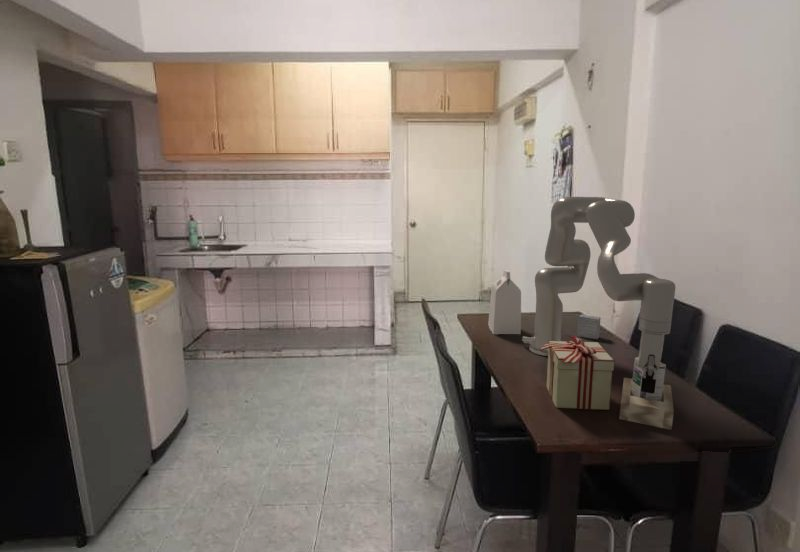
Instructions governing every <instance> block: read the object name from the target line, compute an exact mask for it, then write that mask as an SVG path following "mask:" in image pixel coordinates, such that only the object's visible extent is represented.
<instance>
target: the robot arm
mask: <svg viewBox="0 0 800 552" xmlns="http://www.w3.org/2000/svg"><path fill="white" fill-rule="evenodd" d="M635 217H636V216H635V209H634V207H633V206H632V205H631V204H630V202H628V201H627V200H623V199H622V200H621V199H613V198H609V197H603V196H566V197H560V198H559V199H557V200H556V201H554V203H553V205H552V207H551V212H550V230H549V233H548V237H547V242H546V245H545V252H544V261H545V262H546V264H548V265H549V266H551V267H545V268H541V269H539V270H538V271H537V272H536V273H535V275H534V283H535V284H534V285H535V286H534V287H535V295H536V297H535V317H534V332H533V334H534V335H533V336H531V337H529V336H524V335H523V336H522V339H521V341H522V342H523V343H524V344H529V346H528V350H529V351H530V352H531V353H533V354H535V355H538V356H544V357H548V351H547V349H544V350H539V349H541V348H542V347H543V346H544V345H545V344H546V343H548V341H562V340H561V338H562V337H561V336H562V327H563V325H562V324H563V313H564V312H563V311H564V307H563V306H564V305H563V302H562V300H561V298H560V296H559V294H569V293H572V294H573V293H577V292H579V291H580V290H581V289H582V288H583V285H584V282H585V279H586V275H587V271H588V268H589V264H590V261H591V260H590V259H591V255H592V254H591V248H590V246H589V243H588V242H586V241H585V240H584V239H577V238H576V239H575V237H576V233H577V232H576V231H577V228H576V225H575V223H583V224H587V223H588V226H589V228H590V230H591V231H592V234H593V237H594V239H595V240H596V242H597V244H598V247H599V248H600V253H599V256H598V260H597V265H596V269H597V270H596V273H597V276H598V279H599V282H600V284H601V286H602V289H603V290H604V292H605V294H606V295H607V296H608V297H609V298H610V299H611V300H613V301H615V302H631V301H633V302H634V301H640V308H639V309H640V310H639V317H638V326H637V327H638V328H637V329H638V330H639V331H641V336H640V341H639V351H638V357H639V361H638V366H639V367H640V368H641V367H644V375H643V377H642V383H641V391H642V392H647V393H652V394H653V393H654V392H655V384H656V379H655V376H656V370H658V369H659V366H660V362H661V360H662V355H663V350H664V348H663V347H664V342H665V335H669V334H671V327H672V319H673V311H674V304H675V296H676V295H675V294H676V284H675V282H673V280H670V279H665V278H659V277H657V276H655V275H653V274H650V273H645V272H643V273H642V272H641V273H636V272H635V273H620V271H619V268H618V266H617V264H616V262H615V261H616V260H615V256H617V255H618V254H621V253H622V252H624V251H625V250H626V249H628V247H629V246H630V245H631V241H632V240H631V236H630V235H629V232H628V230H627V229H626V228H627V227H630V226H631V225H632V224H633V223H634V221H635ZM648 357H649V360H648ZM646 364H648V366H646ZM654 365H655V366H654ZM656 366H657V367H656ZM646 370H648V371H646Z"/></svg>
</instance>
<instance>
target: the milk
mask: <svg viewBox="0 0 800 552" xmlns="http://www.w3.org/2000/svg"><path fill="white" fill-rule="evenodd" d="M487 325H488V326H489V327H488V326H487V327H488V328H489V330H490V332H491V331H492V332H491V333H492V335H498V334H522V333H521V332H522V291H521V289H520V288H519V286H518V285H517V284H516V283H515V282H514V281H513V280H512V279H511V271H510V270H509V269H503V273H502V276H501V277H499V278H498V279H497V280H496V281H495V282H493V284H492V285H491V289H490V301H489V310H488V323H487Z"/></svg>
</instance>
